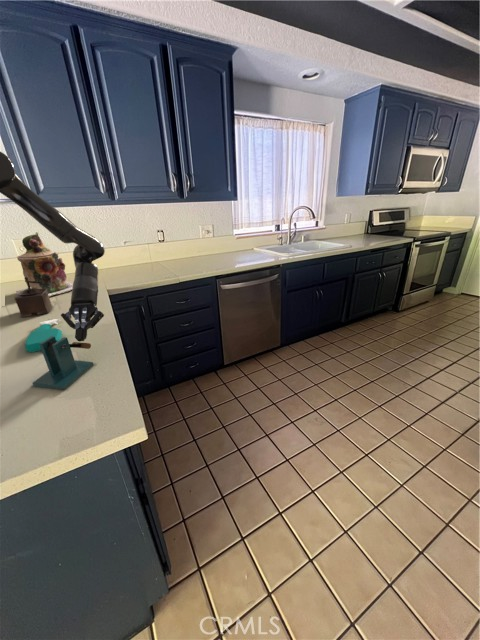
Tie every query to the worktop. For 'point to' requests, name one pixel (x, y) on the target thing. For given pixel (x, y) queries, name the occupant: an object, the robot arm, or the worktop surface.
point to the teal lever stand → (60, 365)
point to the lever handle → (71, 345)
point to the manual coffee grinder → (34, 299)
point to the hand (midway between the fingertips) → (80, 340)
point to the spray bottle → (42, 335)
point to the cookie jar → (43, 266)
